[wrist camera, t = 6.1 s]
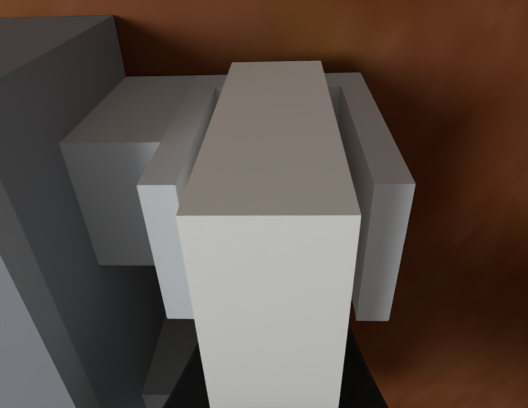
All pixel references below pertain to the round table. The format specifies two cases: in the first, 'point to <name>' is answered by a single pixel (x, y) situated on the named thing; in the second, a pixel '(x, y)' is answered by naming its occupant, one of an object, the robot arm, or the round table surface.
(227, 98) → the door panel
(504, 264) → the round table surface
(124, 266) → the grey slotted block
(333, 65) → the round table surface
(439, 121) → the round table surface
